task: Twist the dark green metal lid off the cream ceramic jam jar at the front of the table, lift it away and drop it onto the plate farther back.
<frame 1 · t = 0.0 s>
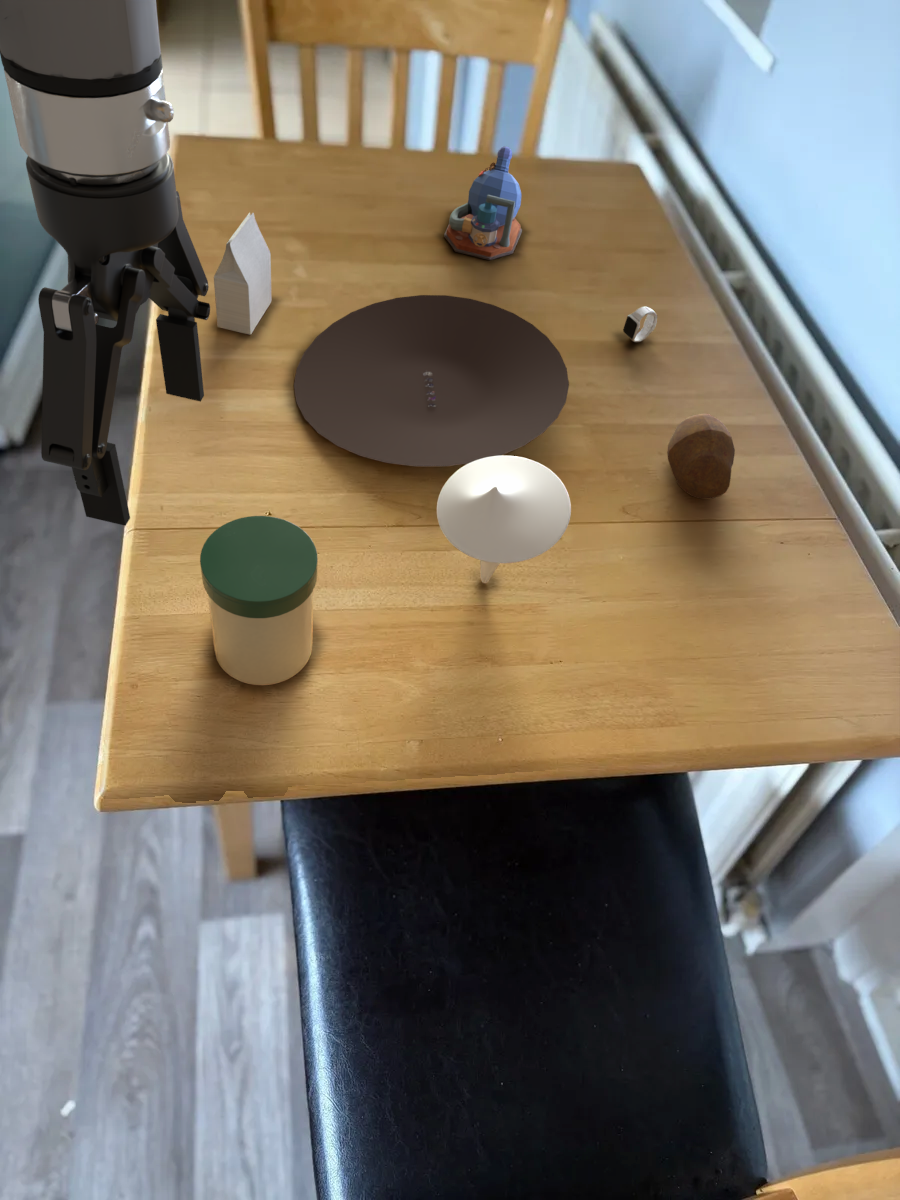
hand: (149, 452, 65), 14 cm above the table, tool pointing down, fingers open, 13 cm apart
tea bag: (245, 315, 99), on the table
model: (483, 235, 117), on the table
potato: (690, 478, 92), on the table
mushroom: (484, 582, 79), on the table
smartwatch: (635, 340, 106), on the table
plate: (429, 392, 95), on the table
jar lid: (259, 560, 64), point 10 cm above the table, screwed on, not yet turned
jam jar: (263, 645, 72), on the table
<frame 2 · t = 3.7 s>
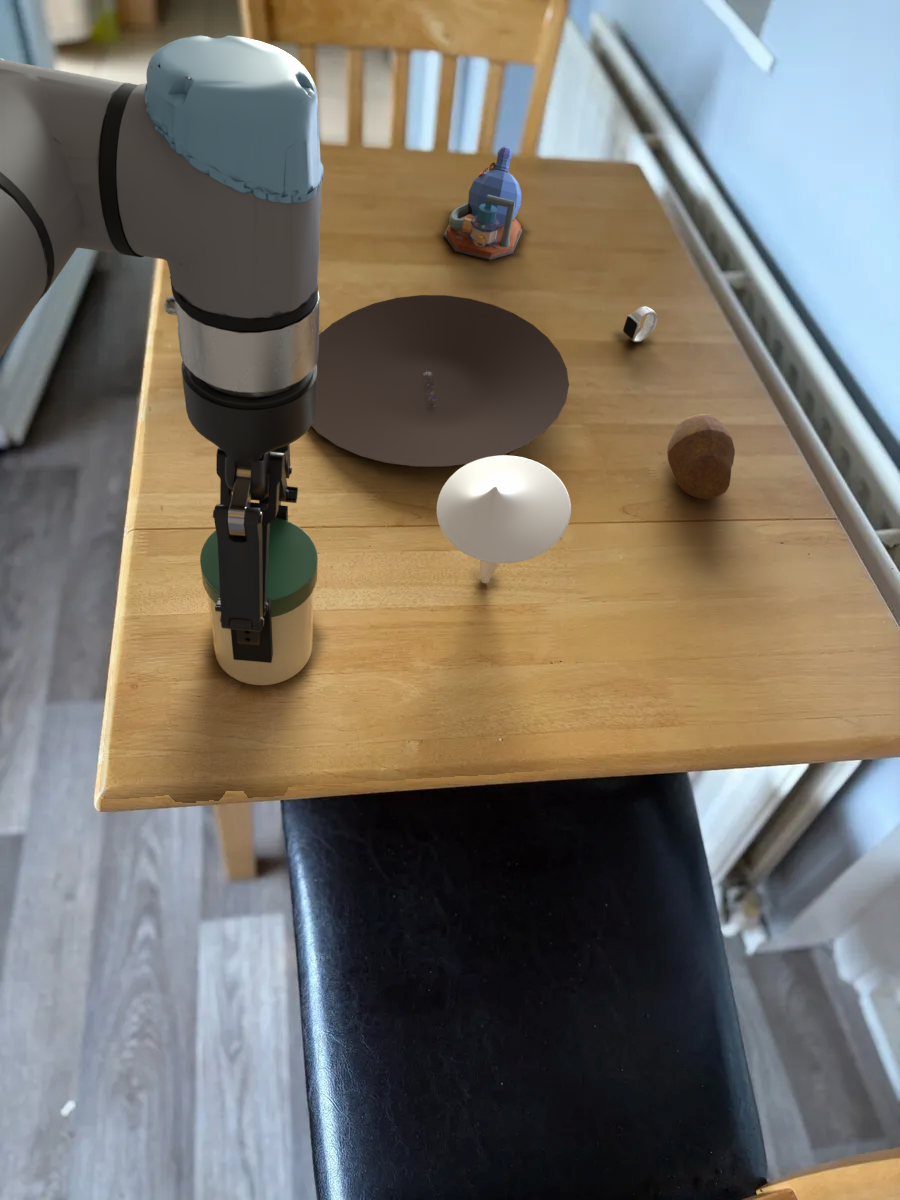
hand: (262, 609, 68), 5 cm above the table, tool pointing down, fingers closed on jar lid, 8 cm apart
jar lid: (259, 560, 64), point 10 cm above the table, screwed on, not yet turned, touching gripper
everything else where it was.
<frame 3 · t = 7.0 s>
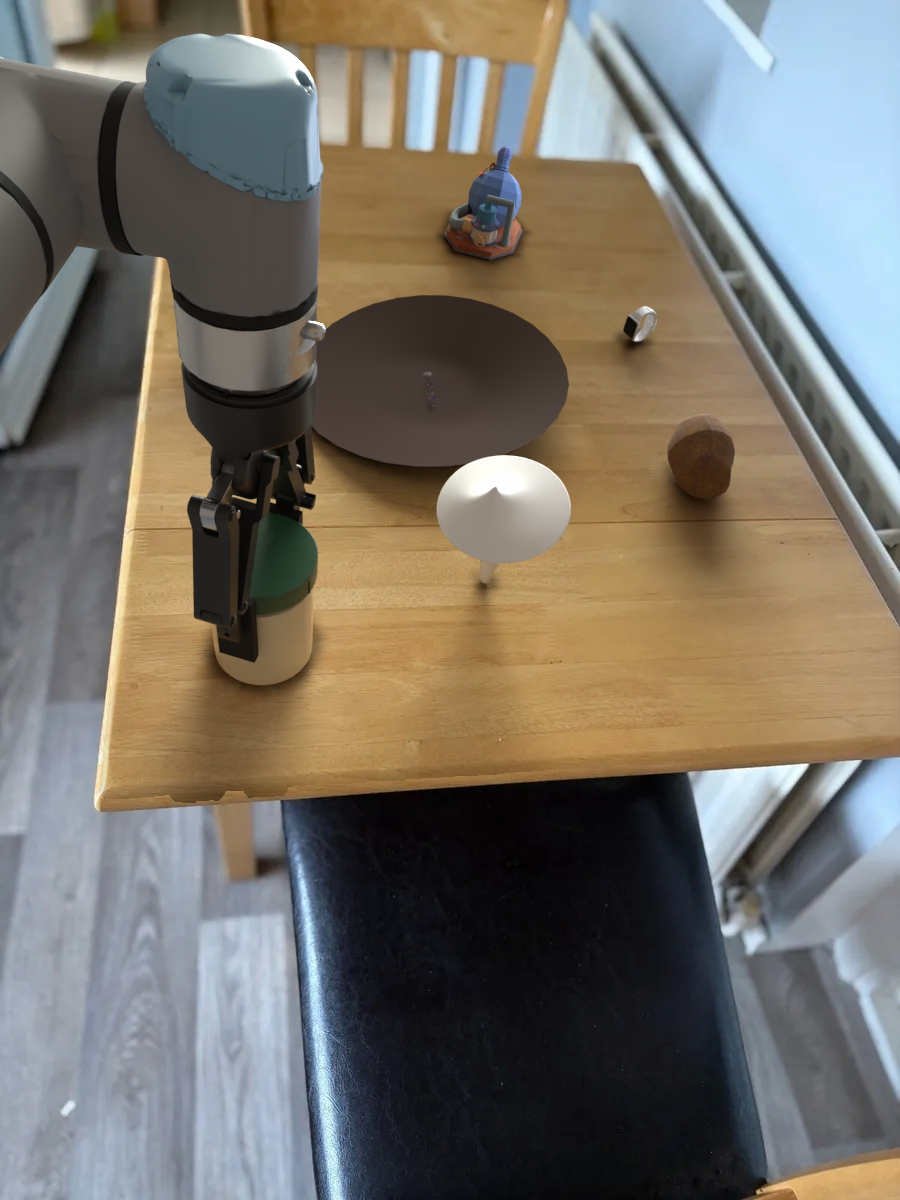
hand: (262, 609, 68), 5 cm above the table, tool pointing down, fingers closed on jar lid, 8 cm apart
jar lid: (259, 556, 64), point 11 cm above the table, off its thread, touching gripper
everything else where it was.
when the fingers open (4 cm above the table, at t = 15.4 s): jar lid drops 8 cm, resting on plate.
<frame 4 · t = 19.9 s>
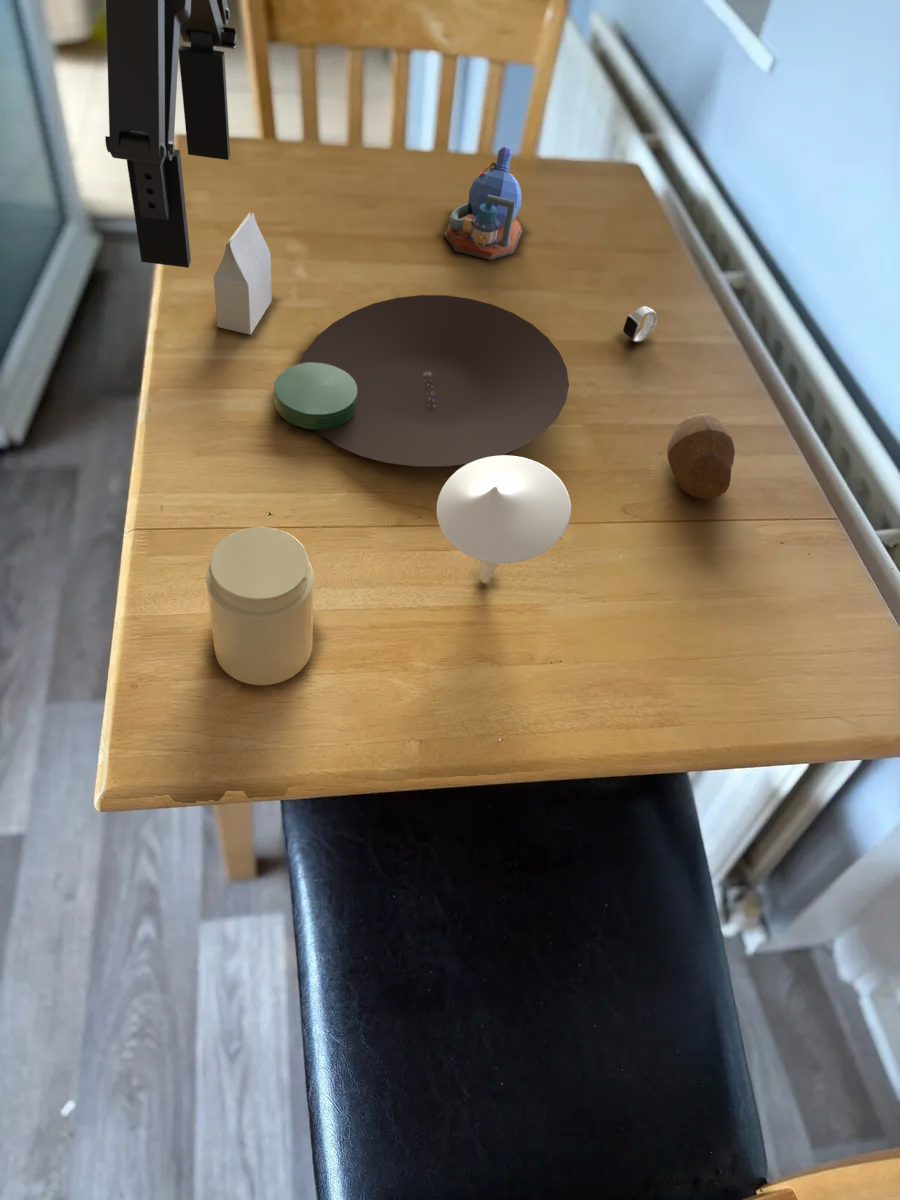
hand: (189, 204, 58), 29 cm above the table, tool pointing down, fingers open, 13 cm apart
plate: (429, 392, 95), on the table, touching jar lid
jar lid: (316, 391, 89), point 2 cm above the table, off its thread, touching plate
everything else where it was.
at the end: jar lid inside the target area on the plate (12.3 cm from its centre), point 2.2 cm above the plate's base; the gripper is holding nothing; jam jar tilted 0° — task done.
